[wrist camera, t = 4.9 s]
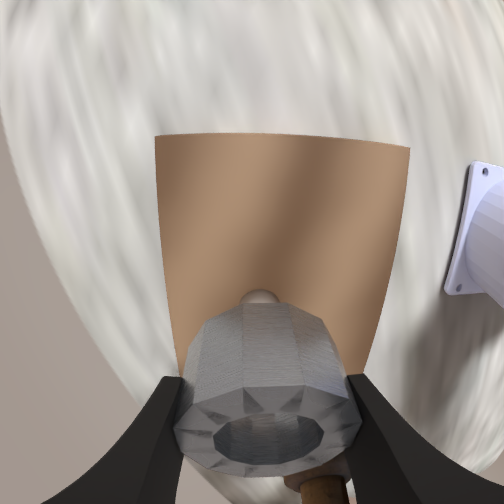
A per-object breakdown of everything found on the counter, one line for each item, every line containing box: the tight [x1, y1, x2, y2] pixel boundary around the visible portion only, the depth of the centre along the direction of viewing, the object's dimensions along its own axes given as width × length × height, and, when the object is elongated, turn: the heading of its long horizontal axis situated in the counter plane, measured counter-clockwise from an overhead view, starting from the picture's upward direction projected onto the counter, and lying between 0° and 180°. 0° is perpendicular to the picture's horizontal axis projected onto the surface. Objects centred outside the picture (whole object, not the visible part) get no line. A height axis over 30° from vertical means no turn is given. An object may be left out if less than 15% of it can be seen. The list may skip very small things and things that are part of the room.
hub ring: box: [173, 303, 362, 477], centre depth 9 cm, size 5×5×4 cm
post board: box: [155, 133, 410, 377], centre depth 13 cm, size 11×14×5 cm
